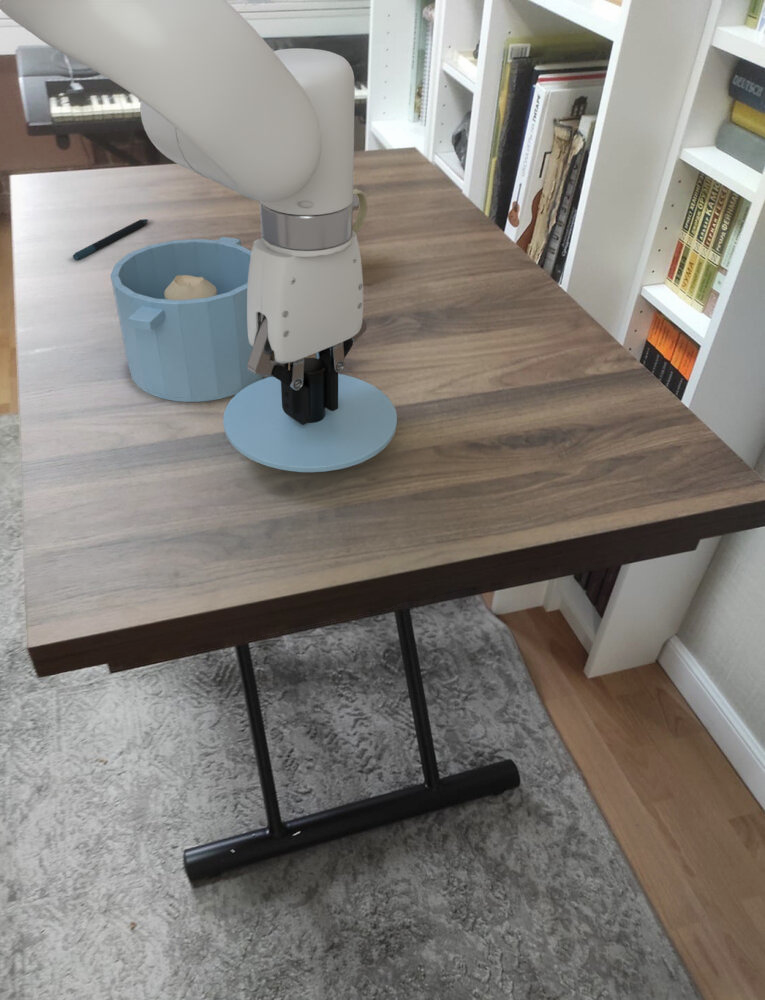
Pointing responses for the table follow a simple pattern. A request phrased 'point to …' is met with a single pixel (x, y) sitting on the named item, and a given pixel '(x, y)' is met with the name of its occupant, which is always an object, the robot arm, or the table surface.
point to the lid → (310, 424)
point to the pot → (186, 319)
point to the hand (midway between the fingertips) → (310, 409)
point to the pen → (109, 239)
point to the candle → (189, 288)
